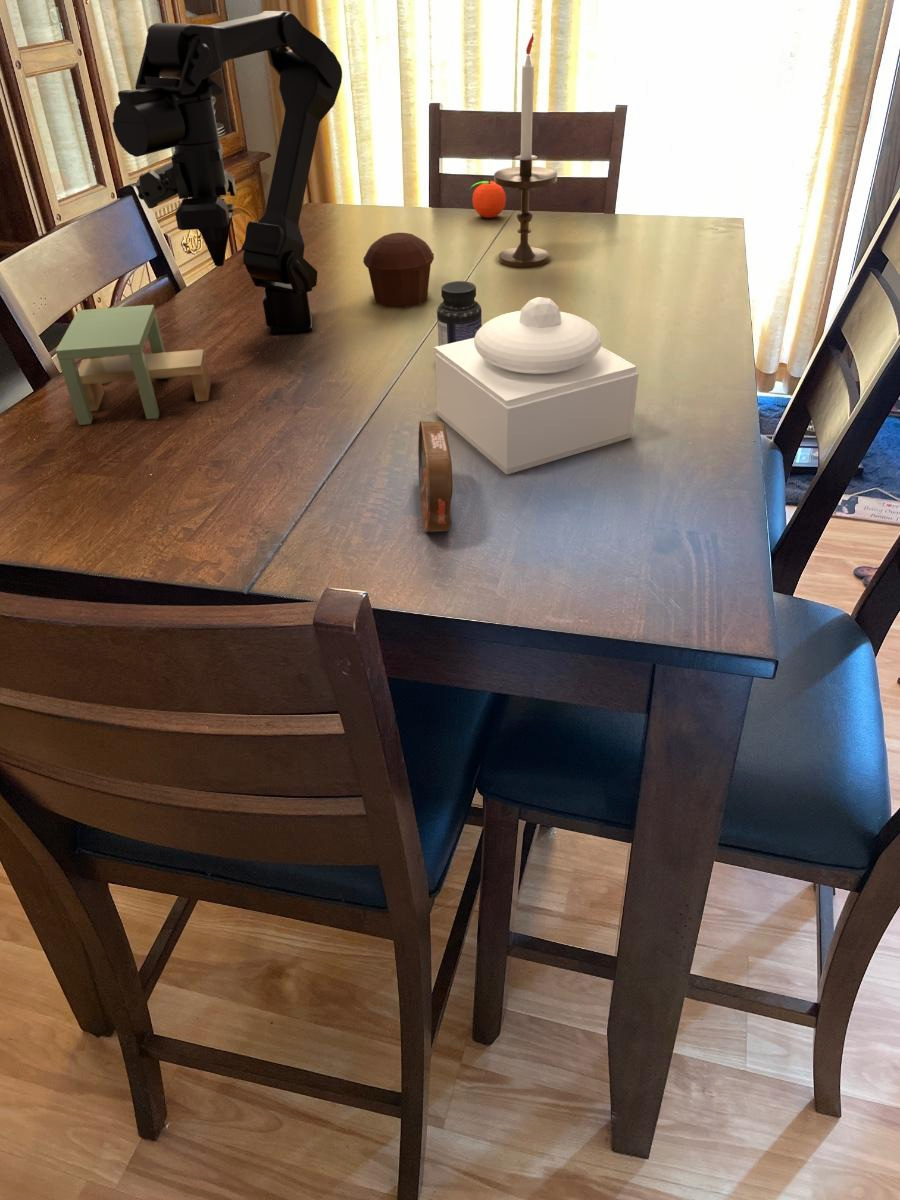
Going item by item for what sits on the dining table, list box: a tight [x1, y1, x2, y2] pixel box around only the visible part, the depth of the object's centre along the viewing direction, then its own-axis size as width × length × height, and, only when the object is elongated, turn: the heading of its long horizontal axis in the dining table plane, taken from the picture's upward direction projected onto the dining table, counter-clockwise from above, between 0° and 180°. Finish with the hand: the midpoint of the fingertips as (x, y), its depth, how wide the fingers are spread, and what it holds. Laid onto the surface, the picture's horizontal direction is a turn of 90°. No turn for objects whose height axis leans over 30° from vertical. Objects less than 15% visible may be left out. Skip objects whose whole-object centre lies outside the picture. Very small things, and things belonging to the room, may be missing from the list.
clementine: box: [467, 179, 507, 219], centre depth 181 cm, size 8×7×7 cm
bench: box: [77, 348, 212, 412], centre depth 118 cm, size 16×6×5 cm, turn 98°
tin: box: [418, 420, 454, 533], centre depth 92 cm, size 15×3×8 cm, turn 5°
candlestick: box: [493, 32, 558, 269], centre depth 150 cm, size 11×11×35 cm
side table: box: [55, 304, 170, 426], centre depth 116 cm, size 10×14×10 cm
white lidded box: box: [433, 296, 639, 476], centre depth 105 cm, size 18×18×16 cm
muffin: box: [362, 232, 435, 309], centre depth 143 cm, size 12×11×10 cm
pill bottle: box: [436, 280, 483, 346], centre depth 121 cm, size 6×6×11 cm
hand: (219, 265), depth 122 cm, fingers closed
